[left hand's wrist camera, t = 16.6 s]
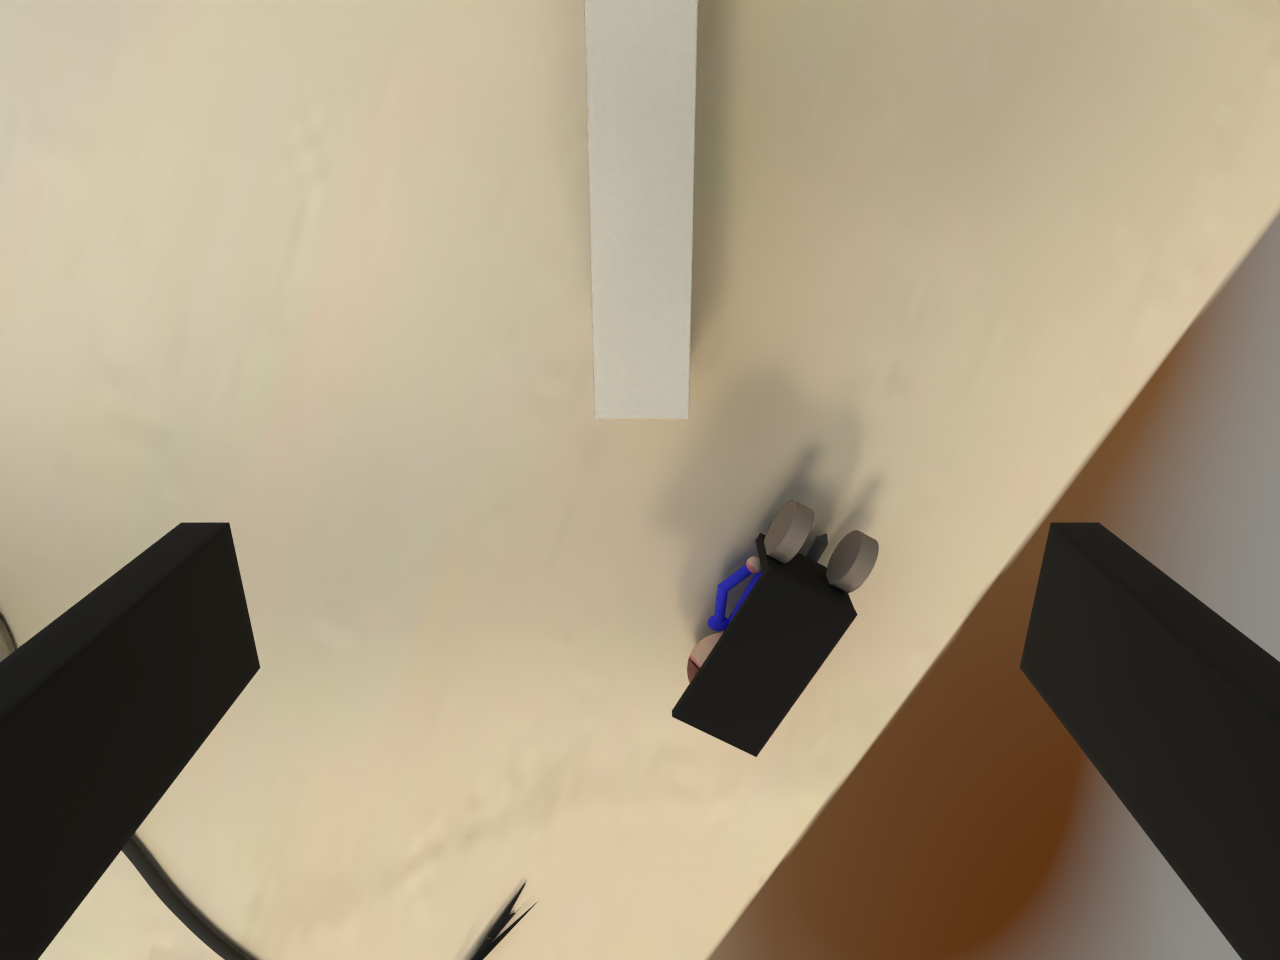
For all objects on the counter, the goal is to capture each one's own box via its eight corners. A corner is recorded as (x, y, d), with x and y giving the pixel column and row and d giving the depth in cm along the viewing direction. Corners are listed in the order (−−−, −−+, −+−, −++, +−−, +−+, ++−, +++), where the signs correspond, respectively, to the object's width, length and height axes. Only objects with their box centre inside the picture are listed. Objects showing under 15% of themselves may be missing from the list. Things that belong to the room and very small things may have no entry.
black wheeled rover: (768, 472, 50) (659, 662, 53) (797, 509, 43) (669, 726, 46) (856, 516, 51) (744, 699, 55) (899, 560, 44) (766, 768, 47)
